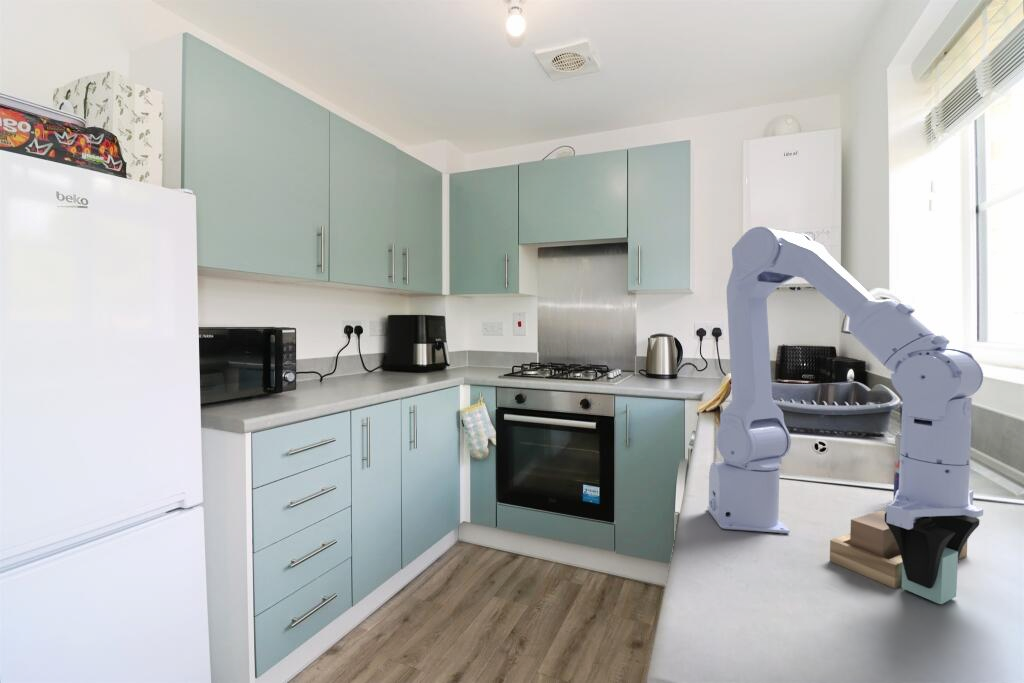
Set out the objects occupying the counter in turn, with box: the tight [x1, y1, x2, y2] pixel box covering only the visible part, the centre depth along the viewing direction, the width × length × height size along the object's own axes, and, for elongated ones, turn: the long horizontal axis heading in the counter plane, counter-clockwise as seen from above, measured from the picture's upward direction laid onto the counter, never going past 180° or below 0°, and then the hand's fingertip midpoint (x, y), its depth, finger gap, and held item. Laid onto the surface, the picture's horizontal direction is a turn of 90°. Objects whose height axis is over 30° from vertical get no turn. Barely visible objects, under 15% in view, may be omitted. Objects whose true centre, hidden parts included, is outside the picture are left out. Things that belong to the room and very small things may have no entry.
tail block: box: [901, 547, 959, 605], centre depth 52 cm, size 4×4×5 cm
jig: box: [829, 533, 968, 589], centre depth 60 cm, size 18×7×3 cm, turn 117°
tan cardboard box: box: [849, 509, 901, 560], centre depth 58 cm, size 7×4×4 cm, turn 117°
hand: (928, 579), depth 52 cm, fingers closed on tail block, 3 cm apart
